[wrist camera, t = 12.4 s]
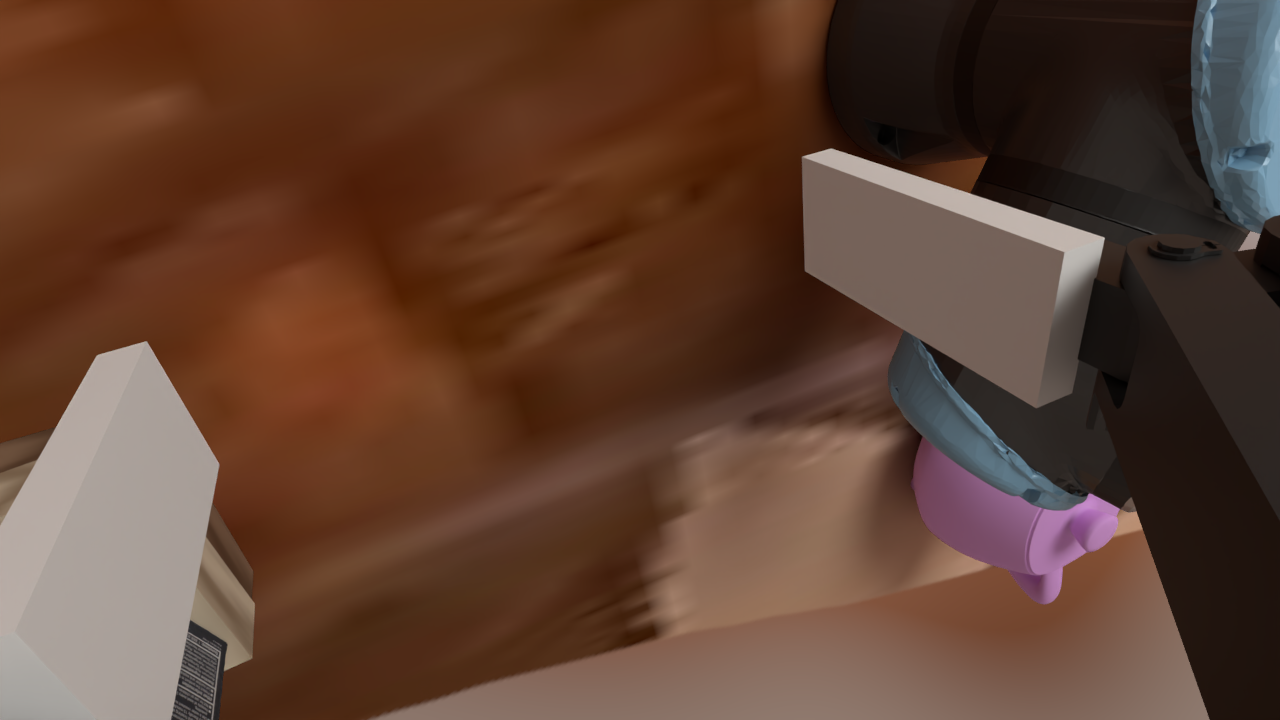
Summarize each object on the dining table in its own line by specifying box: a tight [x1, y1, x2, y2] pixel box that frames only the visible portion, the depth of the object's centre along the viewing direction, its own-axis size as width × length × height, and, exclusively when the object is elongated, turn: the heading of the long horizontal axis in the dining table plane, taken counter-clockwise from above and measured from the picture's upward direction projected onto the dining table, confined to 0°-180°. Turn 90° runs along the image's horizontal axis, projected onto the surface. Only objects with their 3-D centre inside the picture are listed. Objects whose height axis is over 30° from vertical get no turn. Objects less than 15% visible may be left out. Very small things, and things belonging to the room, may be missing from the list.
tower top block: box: [0, 460, 255, 671], centre depth 34 cm, size 10×13×4 cm
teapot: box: [911, 437, 1119, 604], centre depth 62 cm, size 20×20×15 cm
